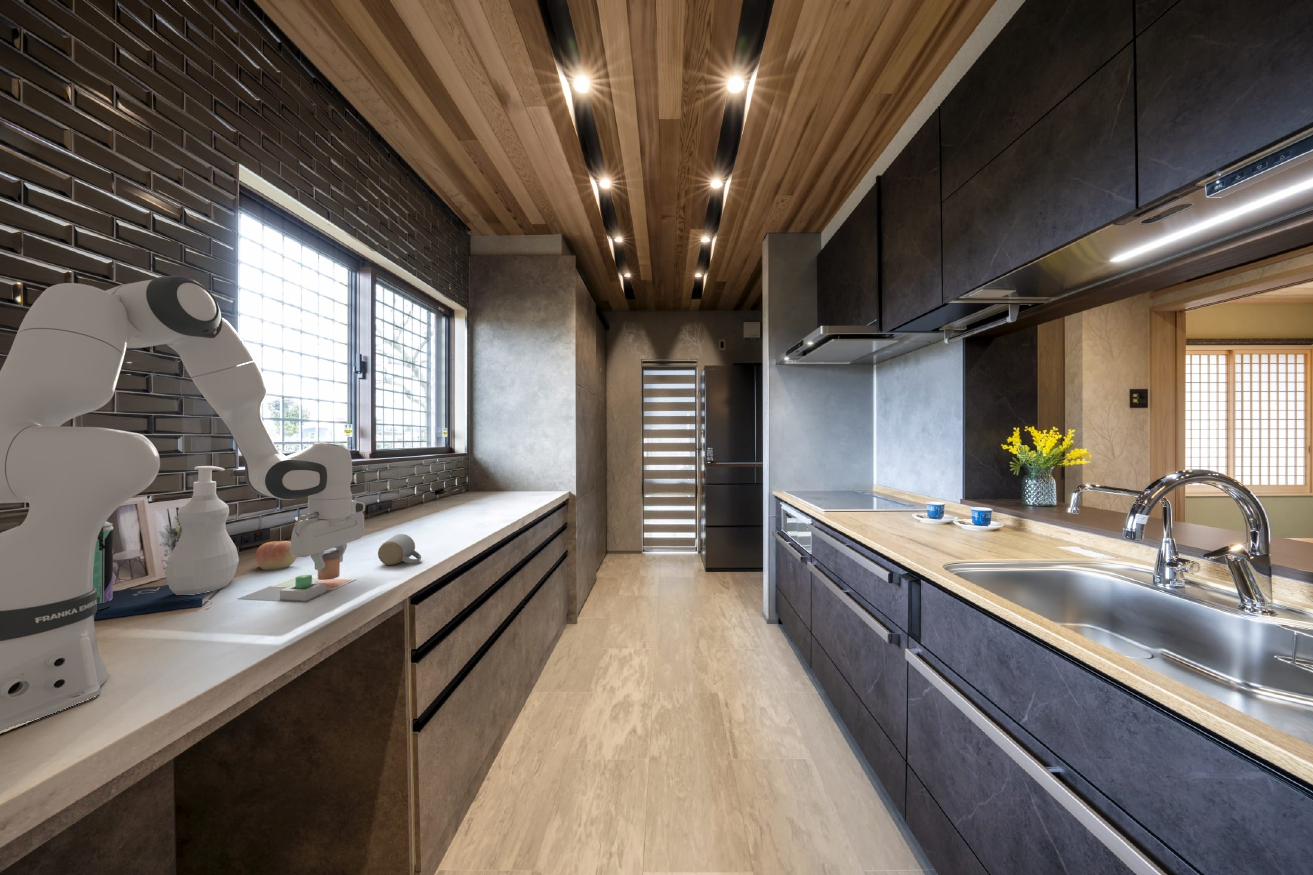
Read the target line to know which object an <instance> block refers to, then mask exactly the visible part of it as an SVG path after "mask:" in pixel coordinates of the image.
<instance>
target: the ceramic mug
mask: <svg viewBox="0 0 1313 875" xmlns="http://www.w3.org/2000/svg"><path fill="white" fill-rule="evenodd" d="M377 555H378V556H377V557H378V559H379V561H380V562H381V563H382V564H384V565H387V566H395V565H399V564H400V563H402V562H404V563H406V564H410V565H416V564H418V563H420V561H421V559H422V555H421V554H420V553H419V552H418V551H416V544H415V541H414V539H413V538H412V537H411V536H410V535H408V534H405V533H399V534H395V535H394V536H392V537H390V538H389V539H387V540H386V541H385V542H383V543H382V544H381V545H380V547H379V548H378V551H377ZM411 556H412V557H414V558H411Z"/></svg>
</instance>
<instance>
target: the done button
mask: <svg viewBox="0 0 1313 875" xmlns="http://www.w3.org/2000/svg"><path fill="white" fill-rule="evenodd" d="M295 577H296V581H295V589H307V588H310V587H312V577H313V575H311V574H303V575H297V576H295Z"/></svg>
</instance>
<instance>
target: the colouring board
mask: <svg viewBox="0 0 1313 875" xmlns="http://www.w3.org/2000/svg"><path fill="white" fill-rule="evenodd" d="M296 577H297V576H294V577H291V578H288V579H286V580H283V581H280V582H277V583H275V584H271V585H270V586H267V587H265V588H262V589H259V590H257V591H254V592H251V593H248V594H246V595H244V596H241V597H238V598H237V600H244V601H245V600H247V601H264V602H265V601H268V602H269V601H270V602H282V603H283V602H289V603H303V604H305V603H309V602H311V601H314V600H317V599H318V598H320V597H322V596H324V595H327V594H329V593H331V592H333V591H335V590H337V589H339V588H342V587H344V586H346V585H348V584H351V583H353V582H355V581H356V579H355V578H354V579H352V578H351V579H349V578H334V579H329V580H319V579H318V577H313V576H312V587H310V588H307V589H295V581H296Z"/></svg>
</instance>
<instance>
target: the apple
mask: <svg viewBox="0 0 1313 875" xmlns="http://www.w3.org/2000/svg"><path fill="white" fill-rule="evenodd" d="M290 544H291V540H289V541H288V540H279V541H278V540H274V541H269V542H265V543H262V544H261V545H260V546H259V547H258V548H257V550H256V553H255V559H256V563H257V566H259V567H260V568H261V569H262V570H265V571H269V570H273V571H274V570H279V569H285V568H289V567H290V566H292V565H293V564H294V562H295V561H296V559H297V557H294V556H292V554H291V553H290Z"/></svg>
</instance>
